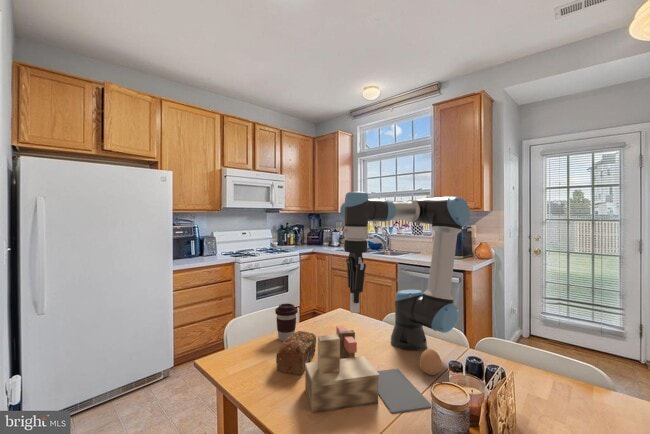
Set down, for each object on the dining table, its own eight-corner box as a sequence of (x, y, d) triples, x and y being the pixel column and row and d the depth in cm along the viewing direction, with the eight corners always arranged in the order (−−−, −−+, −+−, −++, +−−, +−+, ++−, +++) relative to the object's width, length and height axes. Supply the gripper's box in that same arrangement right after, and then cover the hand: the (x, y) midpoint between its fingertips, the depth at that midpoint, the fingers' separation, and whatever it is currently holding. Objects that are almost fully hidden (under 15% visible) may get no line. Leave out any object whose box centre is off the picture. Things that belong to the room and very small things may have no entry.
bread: (303, 377, 105) (303, 348, 105) (274, 373, 107) (274, 345, 107) (317, 353, 123) (317, 328, 123) (292, 350, 125) (292, 326, 125)
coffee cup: (301, 337, 138) (301, 304, 138) (287, 345, 130) (288, 310, 130) (284, 332, 144) (285, 301, 143) (270, 339, 135) (270, 306, 135)
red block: (343, 334, 118) (343, 325, 118) (356, 352, 103) (356, 342, 103) (336, 334, 118) (336, 325, 118) (348, 353, 102) (348, 342, 102)
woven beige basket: (354, 367, 111) (355, 329, 111) (378, 403, 90) (378, 357, 90) (300, 373, 106) (301, 334, 106) (312, 413, 85) (312, 363, 85)
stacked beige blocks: (364, 359, 101) (364, 326, 101) (379, 377, 89) (379, 340, 89) (305, 366, 96) (305, 331, 96) (313, 387, 84) (313, 348, 84)
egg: (425, 366, 113) (425, 343, 112) (445, 374, 107) (445, 350, 107) (415, 373, 107) (416, 349, 107) (435, 381, 102) (435, 356, 102)
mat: (398, 369, 110) (398, 368, 110) (432, 407, 88) (432, 406, 88) (364, 373, 107) (364, 372, 107) (391, 413, 86) (391, 412, 86)
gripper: (339, 238, 104) (338, 306, 104) (351, 241, 91) (349, 319, 91) (360, 238, 105) (359, 305, 106) (374, 241, 93) (373, 317, 93)
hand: (354, 311), depth 98 cm, fingers closed
